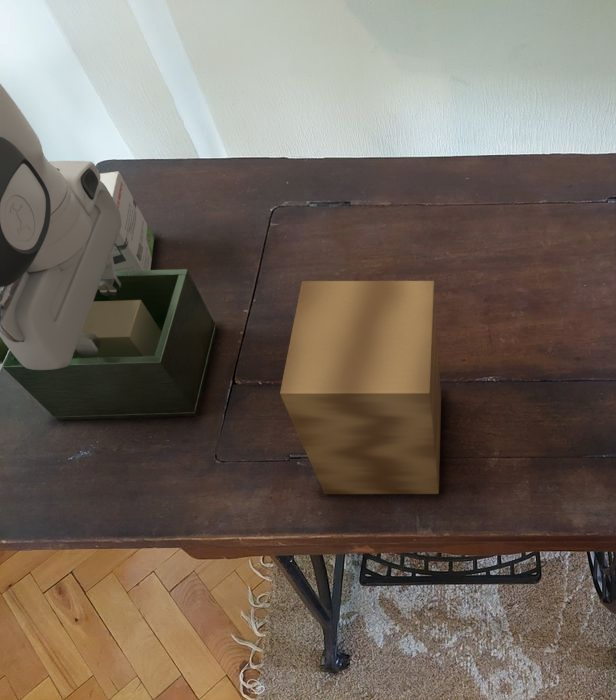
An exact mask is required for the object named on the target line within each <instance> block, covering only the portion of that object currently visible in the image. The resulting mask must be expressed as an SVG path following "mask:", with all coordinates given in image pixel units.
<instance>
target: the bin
mask: <svg viewBox="0 0 616 700" xmlns="http://www.w3.org/2000/svg"><path fill="white" fill-rule="evenodd" d="M115 272H116V276H117V278H118V279H119V281H120V283H121V287H120V289H119V292H118V295H116V296H113V295H110V296H104V295H102V294H101V293H100V290H97V292H96V295H95V298H94V301H125V300H141V301H142V302H143V304H144V306H145V307H146V309H147V310H148V312H149V313H150V315H151V316H152V318H153V320H154V321H155V323H156V324H157V326H158V327H159V329H160V330H161V332H162V333H161V336H160V339H159V343H158V346H157V349H156V353H155V356H137V357H104V358H78V357H77V356H76V354H75V353H74V354H73V357H72V360H71V362H70V364H69V365H68V366H67V367H64V368H60V369H52V370H32V369H28V368H26V367H24V366H23V365H22V364H21V363H20V362H19V361H18V359H17V358H16V357H15V356H14V355H13V353H12V352H11V351H10V350H9V351H8V353H7V355H6V357H5V360H4V362H3V363H2V369H4V370H5V371H6V372H7V373H8V374H9V375H10V376H11V377H12V378H13V379H14V380H15V381H16V382H17V383H18V384H19V385H20V386H21V387H22V388H23V389H24V390H26V391H27V393H28V394H30V395H31V396H32V397H33V399H35V400H36V401H37V402H38V403H39V404H40V405H41V406H42V407H43V408H44V409H45V410H46V411H47V412H48V413H49V414H51V416H52V417H53V418H54V419H56V421H85V420H114V419H115V420H116V419H147V418H149V419H151V418H175V417H177V418H178V417H181V418H182V417H197V416H198V412H199V407H200V405H201V399H202V396H203V391H204V387H205V383H206V379H207V375H208V371H209V366H210V362H211V357H212V353H213V349H214V344H215V340H216V336H217V333H218V326H217V324H216V323H215V320H214V319H213V317H212V315H211V313H210V311H209V309H208V307H207V305H206V303H205V301H204V299H203V297H202V295H201V294H200V292H199V289H198V287H197V286H196V284H195V281H194V279H193V278H192V276H191V274H190V272H189V270H188V269H187V268H182V269H181V268H180V269H179V268H177V269H151V270H138V271H115ZM94 301H93V302H94Z"/></svg>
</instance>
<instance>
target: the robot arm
mask: <svg viewBox="0 0 616 700" xmlns="http://www.w3.org/2000/svg"><path fill="white" fill-rule="evenodd" d="M120 229H121V216H120V212H119V209H118V207H117V205H116V203H115V201H114V200H113V198H112V196H111V194H110V193H109V191H108V189H107V188H106V186H105V185H104V183H103V182H101V181H100V171H99V169H98V167H97V165H96V164H95V163H94V162H93V161H88V160H87V161H85V160H52V161H51V160H50V161H49V160H48V159H47V158H46V156H45V154H44V151H43V145H42V143H41V140H40V138H39V136H38V135H37V133H36V131H35V130H34V128H33V127H32V125H31V124H30V122H29V120H28V119H27V117H26V116H25V115H24V113H23V112H22V110H21V109H20V107H19V106H18V105H17V103H16V102H15V100H14V99H13V97H11V95H10V94H9V92H8V91H7V90H6V89H5V88H4V86H3V85H2V83H0V337H1V338H2V340H3V341H4V343H5V344H6V345H7V347H8V348H9V351H11V352H12V353H13V355H14V356H15V357H16V358H17V359H18V361H19V362H20V363H21V364H22V365H23V366H24V367H26V368H28V369H32V370H52V369H60V368H64V367H67V366H68V365H69V364H70V362H71V360H72V357H73V354H74V351H75V349H76V350H77V351H78V352H79V353H80V354H82V355H96V354H97V353H98V349H99V346H100V343H101V341H100V340H98V337H97V336H96V335H95V334H87V335H85V334H84V331H83V327H84V325H85V322H86V319H87V317H88V314H89V311H90V309H91V306H92V303H93V301H94V298H95V295H96V292H97V290H100V293H101V294H102V295H104V296H110V295H113V296H116V295H118V292H119V289H120V287H121V283H120V281H119V279H118V278H117V276H116V272H115V266H114V261H113V256H112V255H111V252H112V250H113V247H114V244H115V242H116V239H117V236H118V234H119V231H120Z"/></svg>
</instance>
